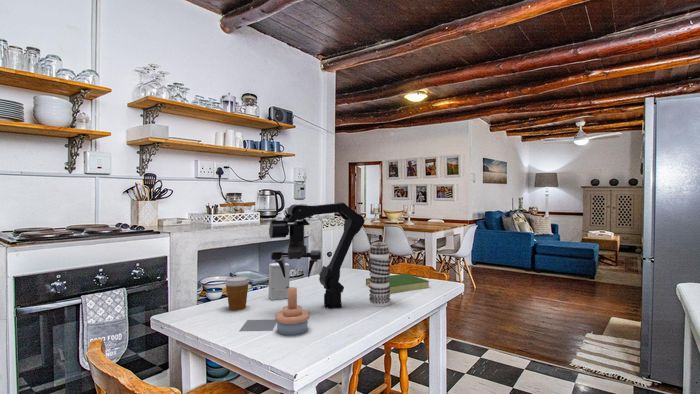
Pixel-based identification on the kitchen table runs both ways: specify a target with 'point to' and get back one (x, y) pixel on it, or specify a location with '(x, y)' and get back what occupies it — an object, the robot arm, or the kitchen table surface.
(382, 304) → the white patterned cylinder
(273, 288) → the skincare box
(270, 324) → the mat
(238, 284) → the disposable coffee cup
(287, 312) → the lid
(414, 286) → the hardcover book
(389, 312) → the kitchen table surface
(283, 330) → the ramekin
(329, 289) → the robot arm
